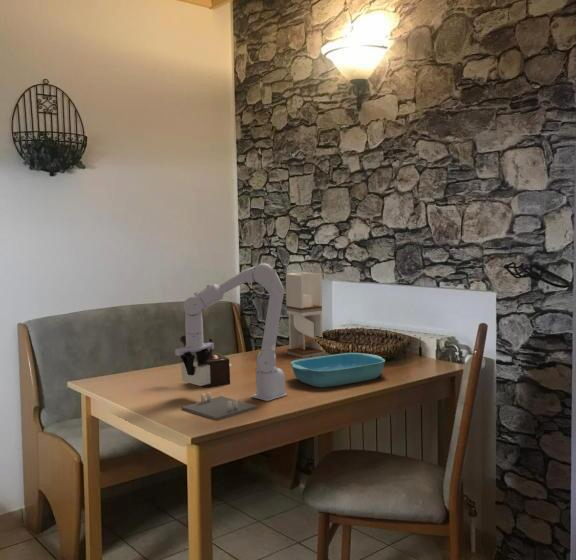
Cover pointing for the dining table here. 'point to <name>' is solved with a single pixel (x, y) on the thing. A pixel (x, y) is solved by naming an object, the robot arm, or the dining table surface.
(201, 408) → the dock
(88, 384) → the dining table surface
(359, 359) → the casserole dish
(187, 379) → the block
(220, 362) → the brown wooden grinder
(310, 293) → the cream table lamp
